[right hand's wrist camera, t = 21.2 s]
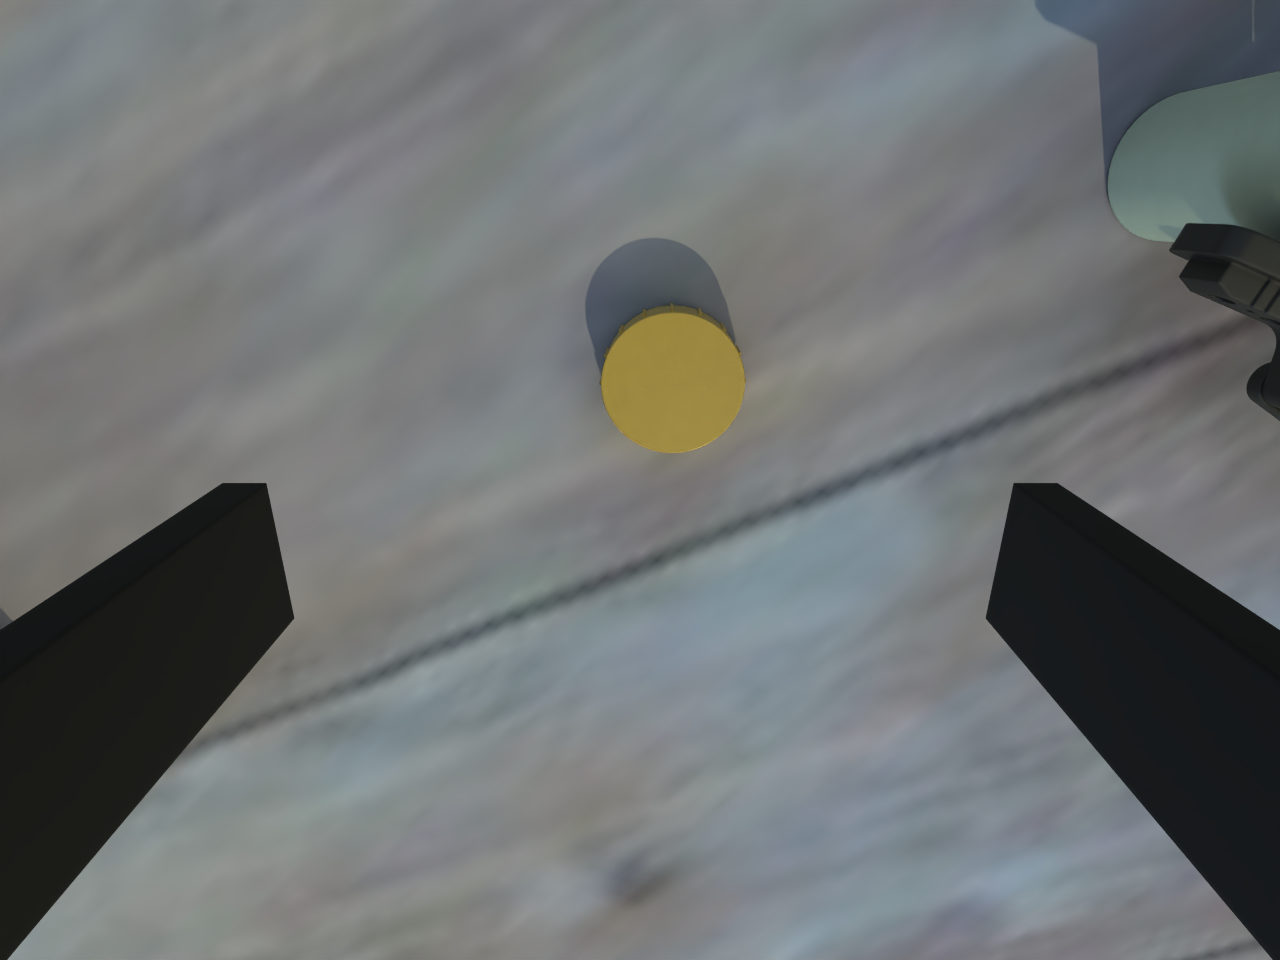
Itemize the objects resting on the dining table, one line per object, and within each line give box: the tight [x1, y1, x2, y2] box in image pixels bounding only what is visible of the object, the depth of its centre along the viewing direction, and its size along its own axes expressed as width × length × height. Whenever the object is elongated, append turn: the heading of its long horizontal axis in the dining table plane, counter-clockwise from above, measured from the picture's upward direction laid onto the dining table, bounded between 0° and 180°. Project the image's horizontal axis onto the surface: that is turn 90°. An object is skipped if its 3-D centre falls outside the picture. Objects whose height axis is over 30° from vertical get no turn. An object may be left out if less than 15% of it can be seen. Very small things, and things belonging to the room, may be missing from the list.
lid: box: [600, 303, 746, 453], centre depth 25 cm, size 5×5×2 cm
